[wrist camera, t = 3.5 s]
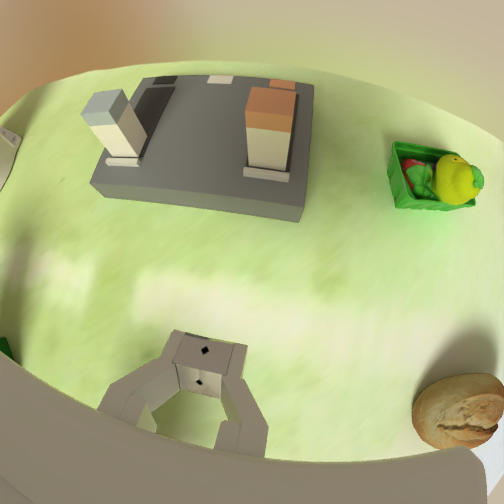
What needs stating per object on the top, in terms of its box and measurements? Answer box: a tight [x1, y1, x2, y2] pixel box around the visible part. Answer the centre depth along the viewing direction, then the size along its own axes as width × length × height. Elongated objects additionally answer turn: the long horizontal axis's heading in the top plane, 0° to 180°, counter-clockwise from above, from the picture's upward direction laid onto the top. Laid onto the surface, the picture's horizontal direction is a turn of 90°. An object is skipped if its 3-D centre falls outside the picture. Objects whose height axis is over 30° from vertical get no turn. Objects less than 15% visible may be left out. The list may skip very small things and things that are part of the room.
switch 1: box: [81, 89, 147, 157], centre depth 24 cm, size 4×3×8 cm
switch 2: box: [245, 87, 296, 171], centre depth 23 cm, size 4×3×8 cm
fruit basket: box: [387, 141, 484, 211], centre depth 25 cm, size 11×9×11 cm
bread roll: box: [412, 373, 504, 450], centre depth 19 cm, size 10×15×8 cm, turn 79°
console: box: [90, 75, 314, 223], centre depth 30 cm, size 24×18×5 cm
